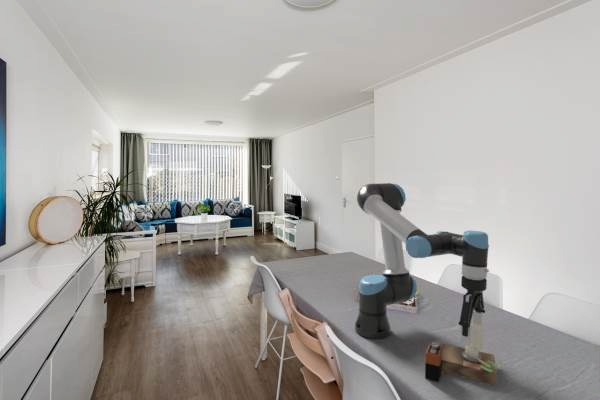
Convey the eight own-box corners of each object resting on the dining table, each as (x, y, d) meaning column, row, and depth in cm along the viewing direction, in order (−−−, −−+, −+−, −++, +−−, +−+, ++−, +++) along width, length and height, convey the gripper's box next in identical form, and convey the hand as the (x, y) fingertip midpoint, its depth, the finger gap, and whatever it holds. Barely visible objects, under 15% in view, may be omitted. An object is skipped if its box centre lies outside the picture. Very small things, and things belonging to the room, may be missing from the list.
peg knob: (482, 370, 102) (483, 334, 102) (456, 354, 112) (457, 321, 112) (496, 367, 104) (497, 331, 104) (469, 351, 114) (470, 318, 114)
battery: (441, 372, 108) (442, 344, 108) (439, 383, 103) (439, 353, 102) (428, 368, 111) (428, 340, 110) (424, 379, 105) (425, 349, 104)
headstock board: (428, 368, 110) (429, 357, 110) (432, 351, 122) (433, 340, 121) (501, 387, 100) (502, 374, 100) (498, 366, 112) (499, 355, 111)
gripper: (475, 288, 97) (472, 355, 98) (495, 271, 115) (492, 327, 116) (449, 283, 102) (447, 347, 103) (472, 267, 120) (470, 321, 121)
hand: (471, 337), depth 110 cm, fingers open, 13 cm apart
